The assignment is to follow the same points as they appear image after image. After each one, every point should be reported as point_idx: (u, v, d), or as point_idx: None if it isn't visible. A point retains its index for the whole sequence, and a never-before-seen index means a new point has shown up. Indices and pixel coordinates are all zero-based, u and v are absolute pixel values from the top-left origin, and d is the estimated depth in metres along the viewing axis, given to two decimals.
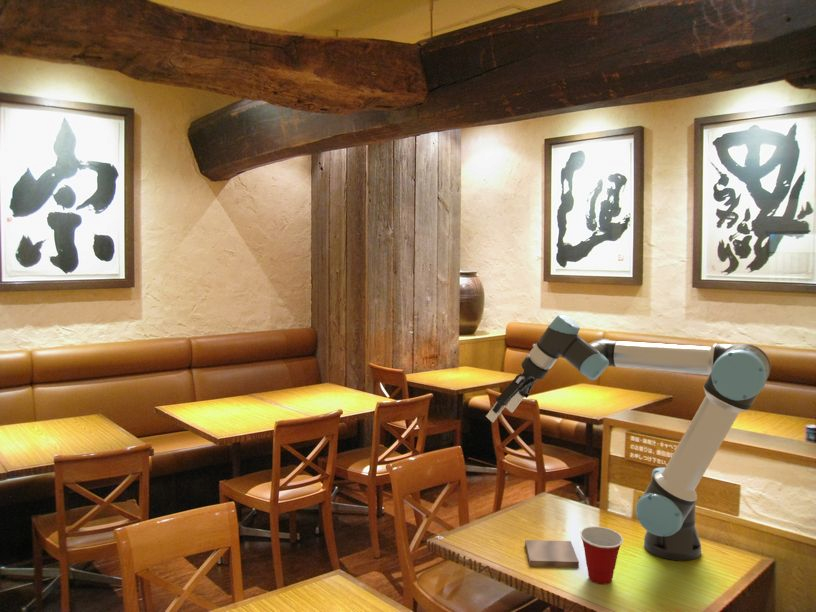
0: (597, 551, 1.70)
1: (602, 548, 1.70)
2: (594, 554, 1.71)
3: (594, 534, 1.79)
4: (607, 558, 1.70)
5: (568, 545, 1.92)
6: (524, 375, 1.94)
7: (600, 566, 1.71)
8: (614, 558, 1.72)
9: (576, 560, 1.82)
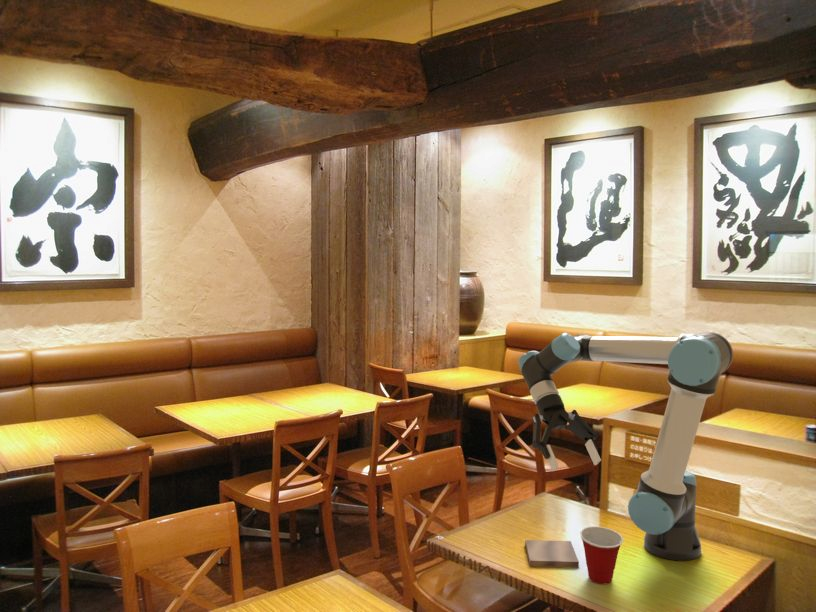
0: (597, 551, 1.70)
1: (602, 548, 1.70)
2: (594, 554, 1.71)
3: (594, 534, 1.79)
4: (607, 558, 1.70)
5: (568, 545, 1.92)
6: (542, 415, 1.92)
7: (600, 566, 1.71)
8: (614, 558, 1.72)
9: (576, 560, 1.82)
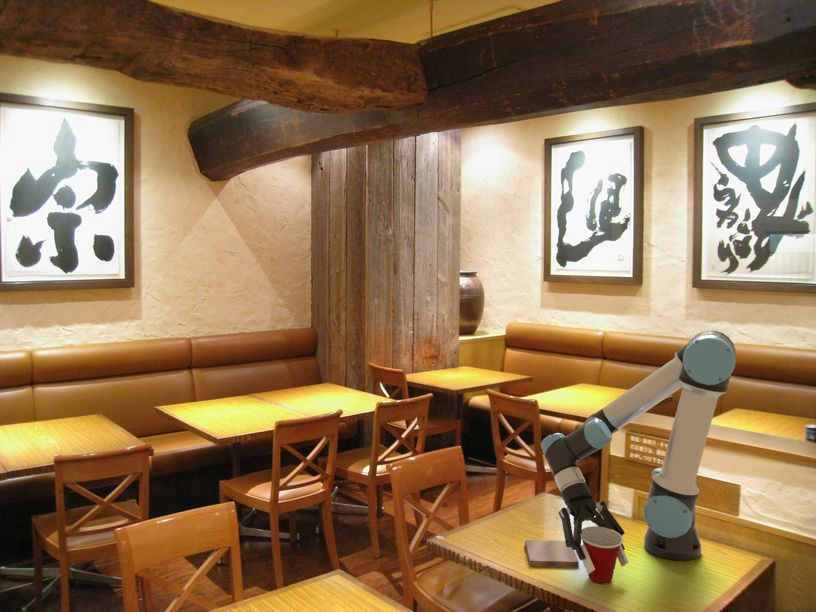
0: (597, 551, 1.70)
1: (602, 548, 1.69)
2: (594, 554, 1.71)
3: (594, 533, 1.79)
4: (607, 558, 1.70)
5: None
6: (567, 506, 1.81)
7: (600, 566, 1.71)
8: (614, 558, 1.72)
9: (576, 560, 1.82)
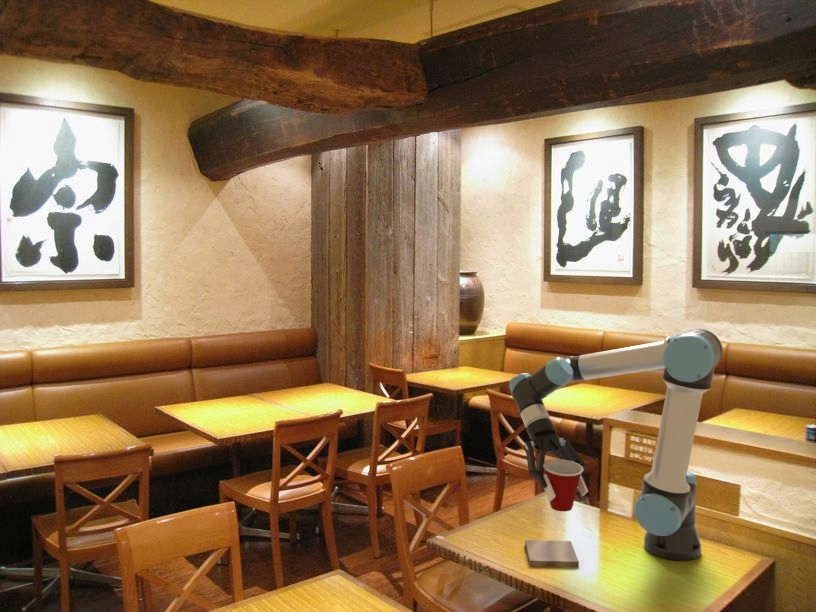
0: (558, 479, 1.79)
1: (563, 476, 1.78)
2: (555, 482, 1.80)
3: (556, 465, 1.87)
4: (567, 486, 1.79)
5: (568, 545, 1.92)
6: (532, 440, 1.90)
7: (561, 494, 1.80)
8: (574, 486, 1.80)
9: (576, 560, 1.82)
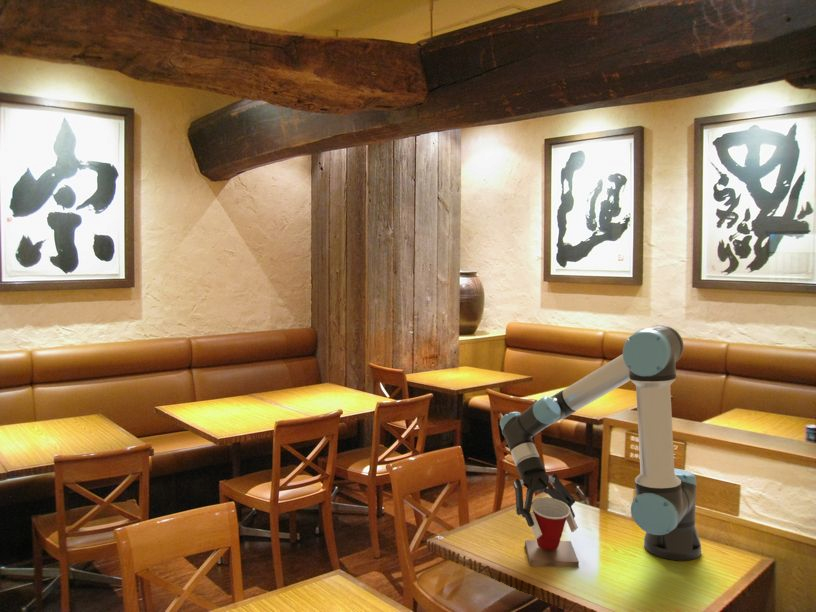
0: (545, 521, 1.84)
1: (550, 519, 1.83)
2: (543, 524, 1.85)
3: (545, 504, 1.92)
4: (554, 528, 1.84)
5: (568, 545, 1.92)
6: (522, 478, 1.95)
7: (547, 534, 1.85)
8: (561, 528, 1.85)
9: (576, 560, 1.82)
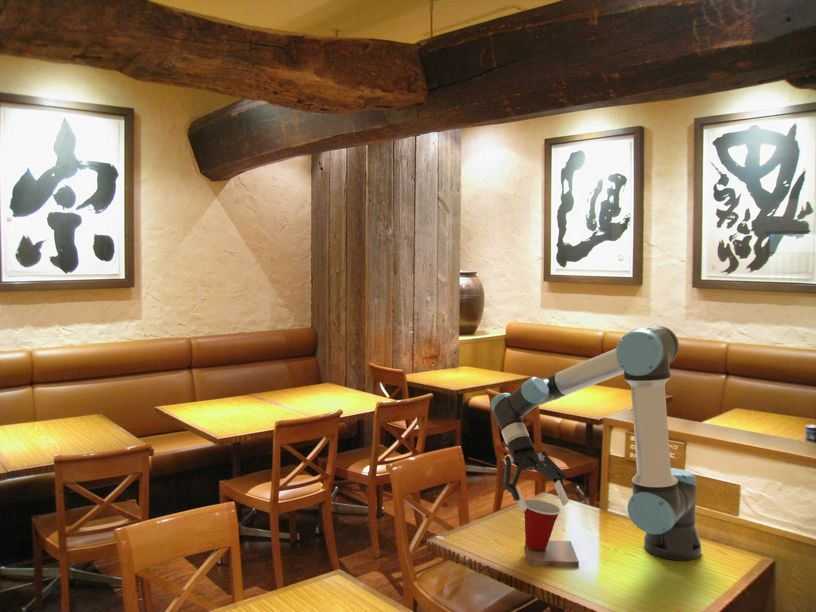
0: (535, 517, 1.86)
1: (540, 514, 1.85)
2: (533, 520, 1.87)
3: (536, 506, 1.95)
4: (544, 524, 1.86)
5: (568, 545, 1.92)
6: (512, 457, 1.99)
7: (537, 532, 1.86)
8: (550, 526, 1.87)
9: (576, 560, 1.82)
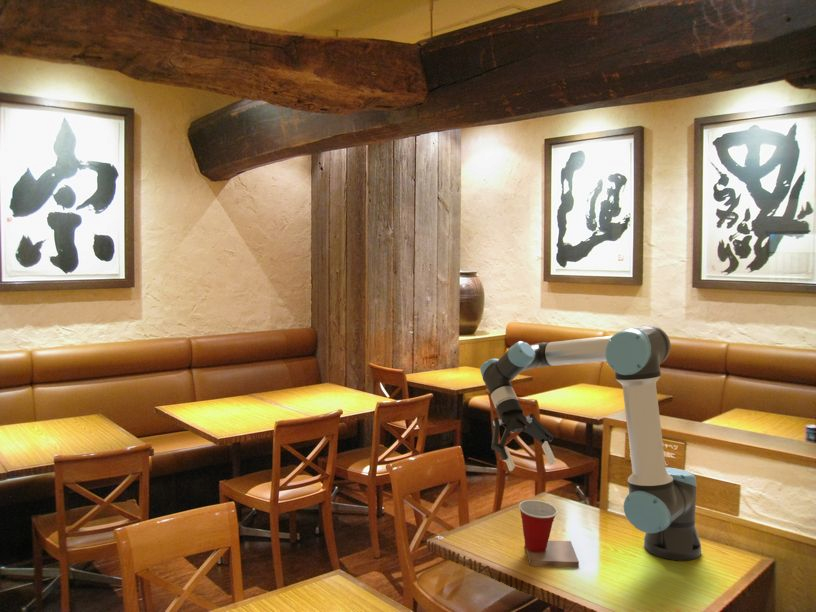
0: (532, 521, 1.85)
1: (537, 518, 1.84)
2: (530, 524, 1.86)
3: (533, 506, 1.94)
4: (541, 527, 1.85)
5: (568, 545, 1.92)
6: (501, 419, 2.04)
7: (535, 535, 1.86)
8: (548, 528, 1.86)
9: (576, 560, 1.82)
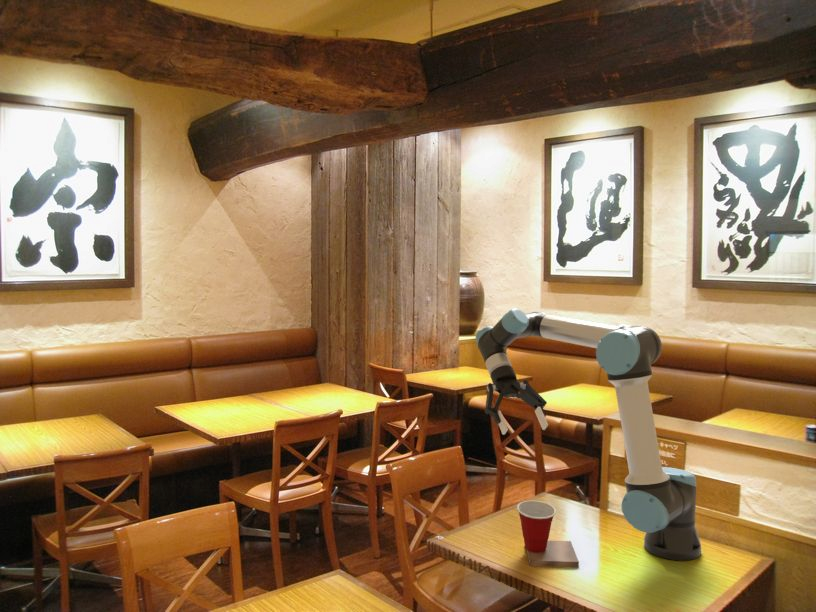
0: (531, 522, 1.85)
1: (535, 519, 1.84)
2: (529, 525, 1.86)
3: (531, 507, 1.94)
4: (540, 528, 1.85)
5: (568, 545, 1.92)
6: (495, 384, 2.07)
7: (534, 536, 1.86)
8: (547, 528, 1.86)
9: (576, 560, 1.82)
